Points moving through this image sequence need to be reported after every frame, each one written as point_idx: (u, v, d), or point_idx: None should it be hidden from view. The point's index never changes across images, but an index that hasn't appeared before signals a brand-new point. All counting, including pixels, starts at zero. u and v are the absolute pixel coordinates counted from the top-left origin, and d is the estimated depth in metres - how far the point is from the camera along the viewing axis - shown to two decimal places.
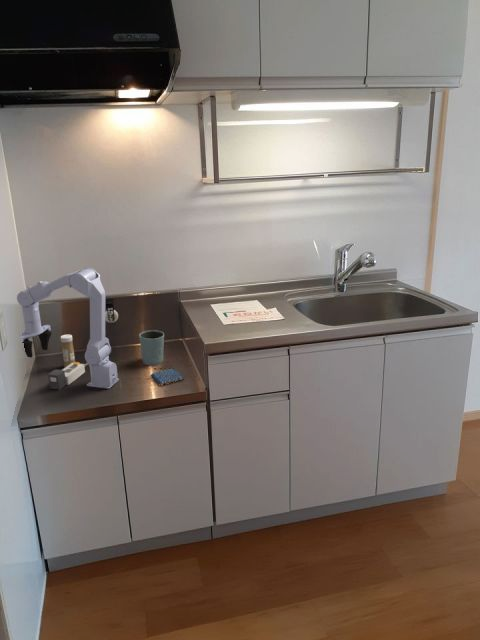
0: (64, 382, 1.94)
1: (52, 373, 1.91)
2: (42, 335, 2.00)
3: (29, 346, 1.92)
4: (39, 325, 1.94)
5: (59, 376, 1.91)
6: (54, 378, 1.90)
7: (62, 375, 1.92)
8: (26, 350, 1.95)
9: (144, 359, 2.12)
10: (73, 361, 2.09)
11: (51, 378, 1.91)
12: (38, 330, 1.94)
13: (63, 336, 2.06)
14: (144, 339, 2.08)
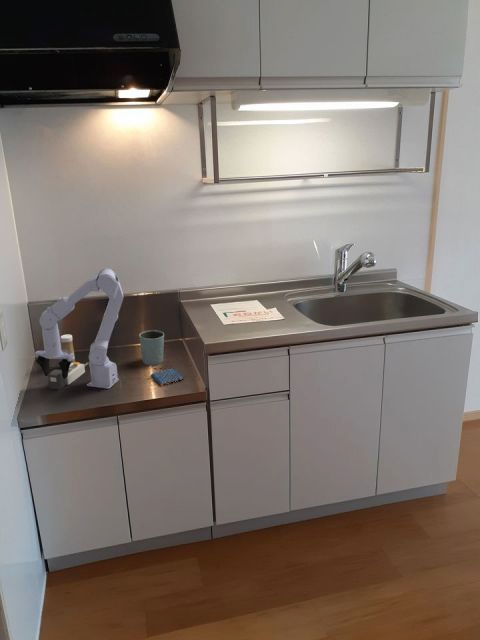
0: (64, 382, 1.94)
1: (52, 373, 1.91)
2: None
3: (40, 364, 1.90)
4: (49, 350, 1.86)
5: (59, 376, 1.91)
6: (54, 378, 1.90)
7: None
8: None
9: (144, 359, 2.12)
10: (73, 361, 2.09)
11: (51, 378, 1.91)
12: (47, 354, 1.86)
13: (63, 336, 2.06)
14: (144, 339, 2.08)
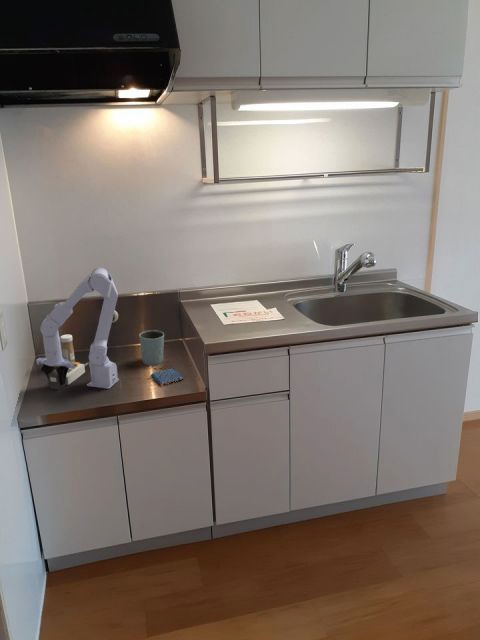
0: None
1: (52, 373, 1.91)
2: None
3: (44, 372, 1.91)
4: (50, 357, 1.87)
5: None
6: (54, 378, 1.90)
7: None
8: None
9: (144, 359, 2.12)
10: (73, 361, 2.09)
11: (51, 378, 1.91)
12: (49, 361, 1.87)
13: (63, 336, 2.06)
14: (144, 339, 2.08)
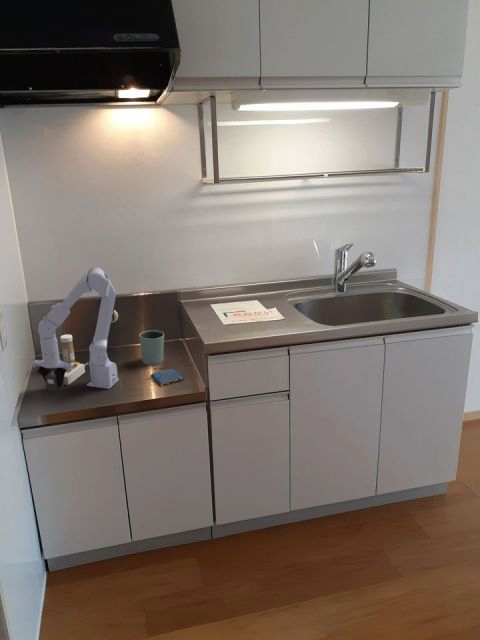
0: None
1: (49, 375, 1.89)
2: None
3: (41, 374, 1.89)
4: (48, 359, 1.85)
5: (56, 378, 1.89)
6: (51, 380, 1.88)
7: None
8: None
9: (144, 359, 2.12)
10: (73, 361, 2.09)
11: (48, 380, 1.89)
12: (46, 363, 1.86)
13: (63, 336, 2.06)
14: (144, 339, 2.08)
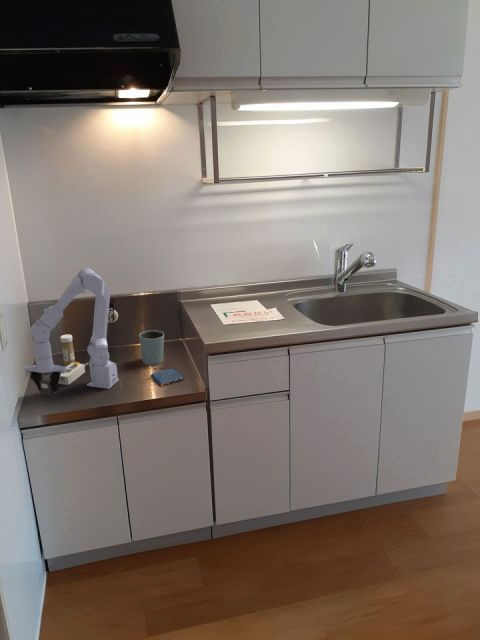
0: None
1: (43, 379, 1.86)
2: None
3: (34, 380, 1.85)
4: (42, 364, 1.81)
5: (50, 382, 1.86)
6: (45, 384, 1.85)
7: None
8: None
9: (144, 359, 2.12)
10: (73, 361, 2.09)
11: (42, 385, 1.86)
12: (40, 368, 1.82)
13: (63, 336, 2.06)
14: (144, 339, 2.08)
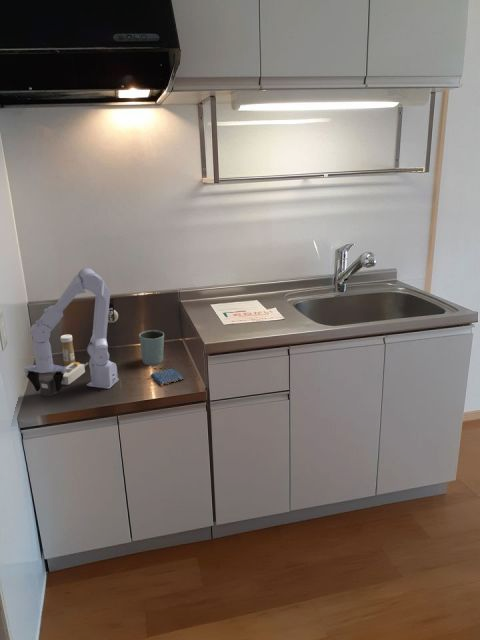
0: None
1: (43, 379, 1.86)
2: None
3: (30, 380, 1.85)
4: (42, 364, 1.81)
5: (50, 382, 1.86)
6: (45, 384, 1.85)
7: (54, 381, 1.88)
8: None
9: (144, 359, 2.12)
10: (73, 361, 2.09)
11: (42, 385, 1.86)
12: (40, 368, 1.82)
13: (63, 336, 2.06)
14: (144, 339, 2.08)
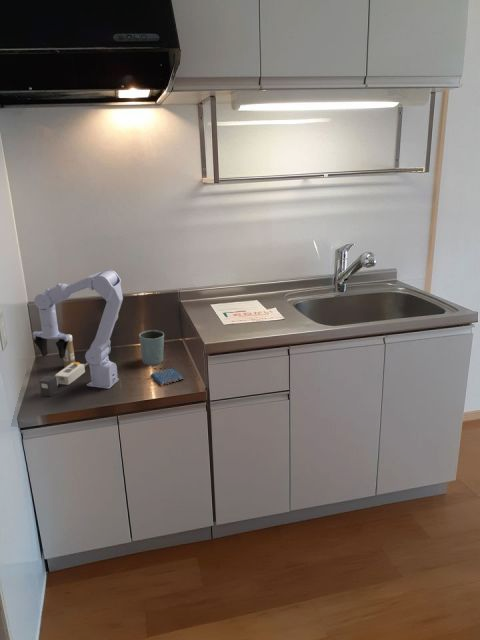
0: (56, 388, 1.89)
1: (43, 379, 1.86)
2: None
3: (37, 344, 1.94)
4: (46, 330, 1.90)
5: (50, 382, 1.86)
6: (45, 384, 1.85)
7: (54, 381, 1.88)
8: None
9: (144, 359, 2.12)
10: (73, 361, 2.09)
11: (42, 385, 1.86)
12: (45, 334, 1.90)
13: None
14: (144, 339, 2.08)
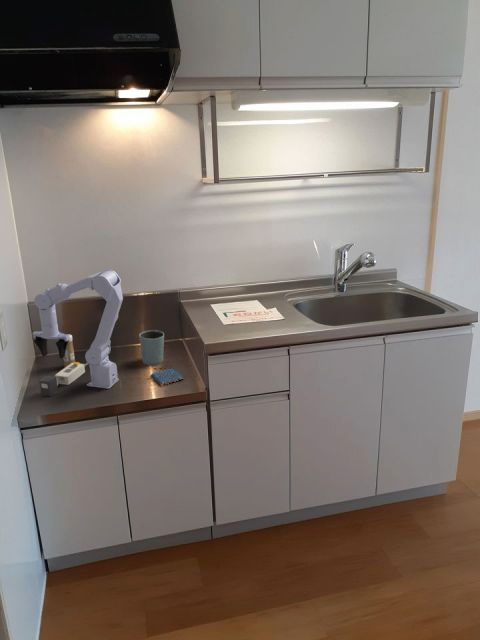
0: (56, 388, 1.89)
1: (43, 379, 1.86)
2: None
3: (37, 344, 1.94)
4: (46, 330, 1.90)
5: (50, 382, 1.86)
6: (45, 384, 1.85)
7: (54, 381, 1.88)
8: None
9: (144, 359, 2.12)
10: (73, 361, 2.09)
11: (42, 385, 1.86)
12: (45, 334, 1.90)
13: None
14: (144, 339, 2.08)
